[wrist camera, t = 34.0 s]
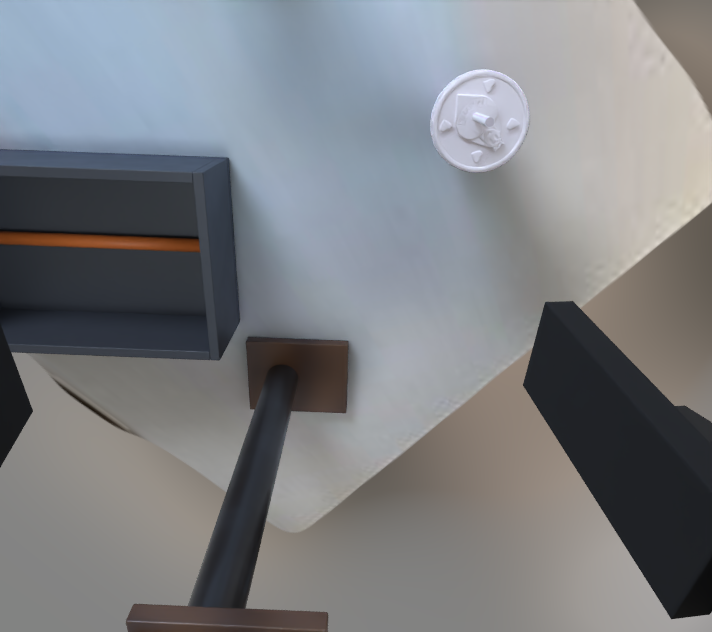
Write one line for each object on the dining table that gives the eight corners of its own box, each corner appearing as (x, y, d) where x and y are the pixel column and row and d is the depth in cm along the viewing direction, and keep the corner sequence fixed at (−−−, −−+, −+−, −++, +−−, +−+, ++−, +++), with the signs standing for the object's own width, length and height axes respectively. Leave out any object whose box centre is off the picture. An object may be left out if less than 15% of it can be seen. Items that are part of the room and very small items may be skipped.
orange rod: (-2, 243, 47) (-11, 244, 46) (-4, 229, 47) (-13, 231, 46) (217, 251, 47) (213, 253, 46) (217, 238, 47) (213, 240, 46)
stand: (252, 404, 55) (138, 722, 28) (247, 336, 52) (114, 623, 25) (346, 407, 55) (324, 730, 28) (348, 340, 52) (325, 632, 24)
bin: (0, 312, 51) (-57, 349, 44) (-46, 147, 45) (-122, 160, 38) (240, 322, 51) (219, 360, 44) (228, 157, 44) (202, 172, 38)
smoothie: (464, 51, 41) (507, 40, 28) (513, 115, 42) (575, 132, 30) (402, 112, 43) (416, 127, 30) (452, 170, 44) (485, 208, 32)
